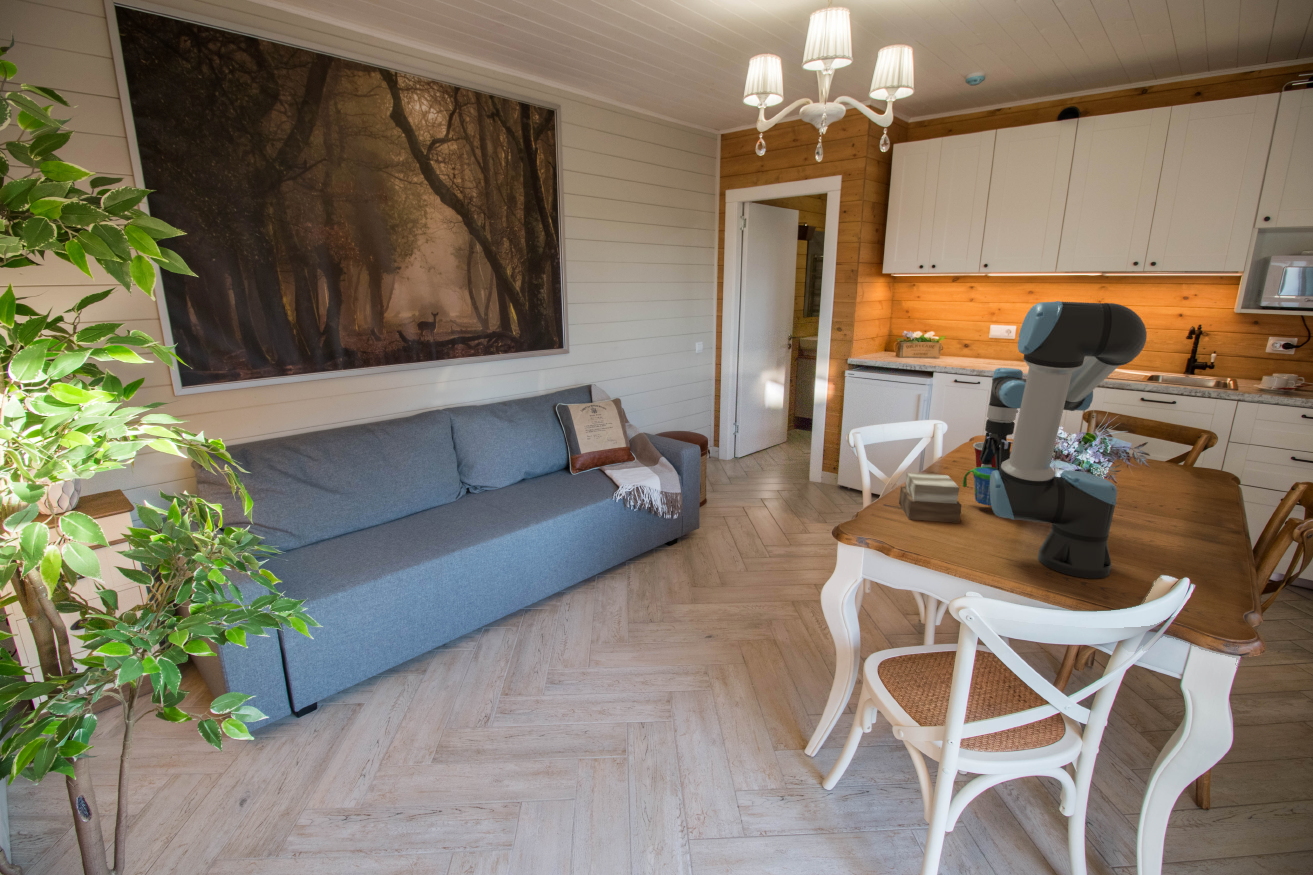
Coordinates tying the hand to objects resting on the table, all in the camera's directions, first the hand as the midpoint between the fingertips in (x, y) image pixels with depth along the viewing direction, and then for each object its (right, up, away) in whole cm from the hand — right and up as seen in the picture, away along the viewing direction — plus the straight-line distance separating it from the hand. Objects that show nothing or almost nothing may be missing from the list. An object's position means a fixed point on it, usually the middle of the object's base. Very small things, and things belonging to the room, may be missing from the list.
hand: (990, 490), depth 191 cm
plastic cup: (+17, +2, +35) cm, 39 cm away
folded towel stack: (-20, -7, -2) cm, 21 cm away
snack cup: (0, -4, +1) cm, 4 cm away
